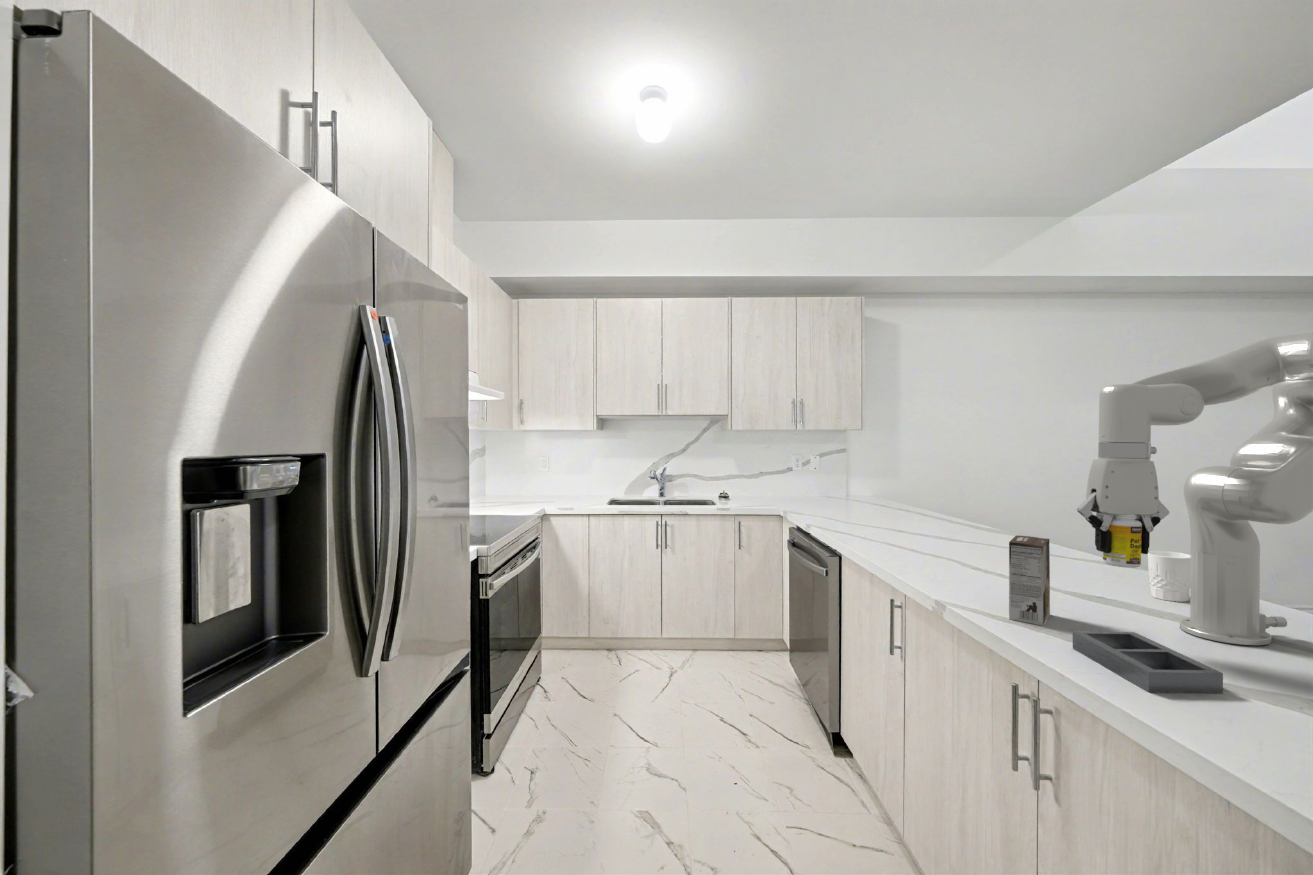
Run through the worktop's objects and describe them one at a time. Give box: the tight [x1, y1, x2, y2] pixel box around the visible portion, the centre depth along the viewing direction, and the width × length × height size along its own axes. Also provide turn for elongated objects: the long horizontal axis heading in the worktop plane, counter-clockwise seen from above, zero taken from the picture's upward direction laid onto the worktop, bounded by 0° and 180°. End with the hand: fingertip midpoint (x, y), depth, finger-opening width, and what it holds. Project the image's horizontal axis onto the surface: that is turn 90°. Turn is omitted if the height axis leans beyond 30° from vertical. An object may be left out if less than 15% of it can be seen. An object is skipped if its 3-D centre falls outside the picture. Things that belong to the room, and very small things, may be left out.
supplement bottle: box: [1102, 514, 1142, 569], centre depth 111 cm, size 6×6×10 cm
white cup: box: [1147, 550, 1191, 603], centre depth 139 cm, size 8×8×10 cm
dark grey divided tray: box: [1072, 631, 1224, 694], centre depth 99 cm, size 18×10×3 cm, turn 177°
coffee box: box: [1008, 535, 1051, 626], centre depth 126 cm, size 9×6×16 cm
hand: (1121, 551), depth 111 cm, fingers closed on supplement bottle, 5 cm apart
